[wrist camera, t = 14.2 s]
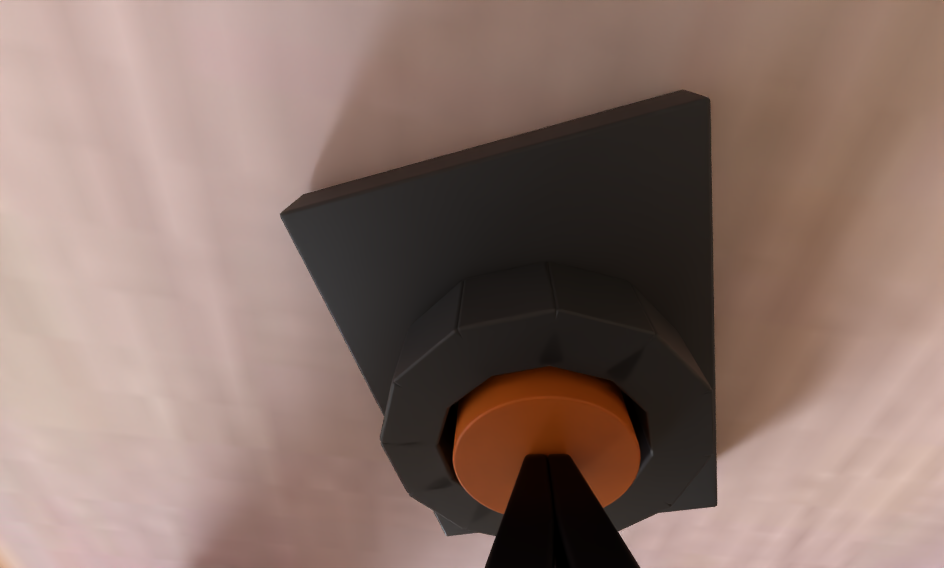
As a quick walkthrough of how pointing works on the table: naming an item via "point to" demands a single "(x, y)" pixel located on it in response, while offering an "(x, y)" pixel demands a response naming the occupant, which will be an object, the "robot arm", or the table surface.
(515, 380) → the orange button
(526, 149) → the button panel
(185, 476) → the table surface
